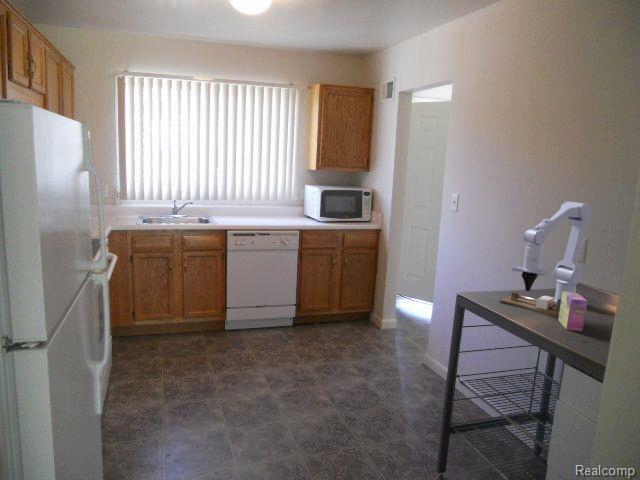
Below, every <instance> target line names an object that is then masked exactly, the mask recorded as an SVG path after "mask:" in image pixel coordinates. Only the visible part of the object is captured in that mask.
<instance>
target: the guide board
mask: <svg viewBox="0 0 640 480" xmlns="http://www.w3.org/2000/svg"><path fill="white" fill-rule="evenodd" d="M517 295H519V291H515V290H514V291H512V292H511V295H508V296H506V297H504V298H502V299H500V300H499V303H500V304H505V305H508V306H512V307H516V308H521V309H523V310H524V309H525V310H530V311H532V312H533V311H534V312H537V313H542V314H546V315H549V316H550V315H551V316H555V317H558V318H559V312H558V311H556V308H557V307H556V306H554V307H553V308H552V307H550V308H548V309H547V310H545V309H541V308H536V302H534V301H530V300H525V299H521V298H517Z"/></svg>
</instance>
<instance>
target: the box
mask: <svg viewBox="0 0 640 480" xmlns="http://www.w3.org/2000/svg"><path fill="white" fill-rule="evenodd" d="M587 305H588V300H587V299H586V297H585V298H584V296H582V295H581V294H580V293H579V292H576V293H575V292H564V291H563V292H562V299H561V305H560V312H559V317H558V319H557V320H558V322H559V323H560V324H561V325H562V326H563V328H565V331H566V330H568V331H575V332H576V331H577V332H583V330H584V325H585V323H584V322H585V317H586V312H587V307H588V306H587Z"/></svg>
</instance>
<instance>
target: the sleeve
mask: <svg viewBox="0 0 640 480" xmlns="http://www.w3.org/2000/svg"><path fill="white" fill-rule="evenodd" d="M536 299H537V302H536V308H541V309H545V310H547V309H548V308H550V307H549V302H550V300H552V301H554V299H555V296H548V295H542V296H539V297H538V298H536Z"/></svg>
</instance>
